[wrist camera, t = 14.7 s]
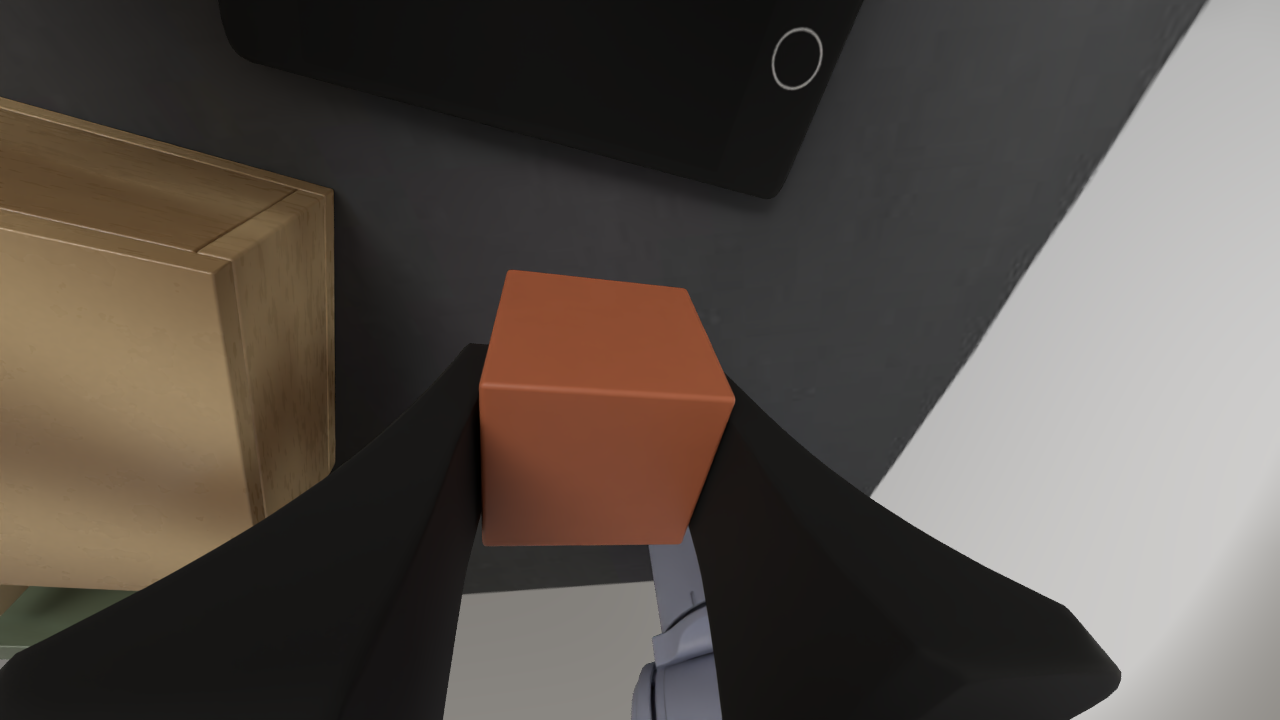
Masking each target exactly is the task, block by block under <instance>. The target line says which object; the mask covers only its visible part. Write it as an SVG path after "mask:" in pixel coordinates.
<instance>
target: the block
mask: <svg viewBox="0 0 1280 720" xmlns="http://www.w3.org/2000/svg"><path fill="white" fill-rule="evenodd" d="M734 404H735V396H734V394H733V392H732V390H731V387H730V385H729V383H728V381H727V378H726V376H725V374H724V372H723V370H722V367H721V365H720V363H719V361H718V358H717V356H716V354H715V352H714V350H713V347H712V345H711V343H710V341H709V338H708V336H707V334H706V332H705V330H704V327H703V325H702V323H701V321H700V318H699V316H698V314H697V312H696V310H695V307H694V305H693V303H692V301H691V298H690V296H689V294H688V292H687V290H686V289H684V288H676V287H667V286H658V285H648V284H639V283H630V282H621V281H611V280H602V279H593V278H584V277H575V276H565V275H556V274H547V273H538V272H529V271H519V270H509V271H508V272H507V275H506V279H505V283H504V287H503V291H502V295H501V299H500V303H499V307H498V311H497V315H496V319H495V323H494V327H493V331H492V335H491V339H490V343H489V347H488V351H487V355H486V359H485V363H484V367H483V371H482V375H481V379H480V383H479V412H480V459H481V505H482V541H483V544H484V545H485V546H557V545H676V544H681V543H682V541H683V538H684V535H685V533H686V530H687V527H688V525H689V522H690V520H691V517H692V514H693V512H694V509H695V506H696V504H697V501H698V499H699V496H700V493H701V491H702V488H703V485H704V483H705V480H706V478H707V475H708V472H709V470H710V467H711V464H712V462H713V459H714V457H715V454H716V451H717V449H718V446H719V443H720V441H721V438H722V435H723V433H724V430H725V428H726V425H727V422H728V420H729V417H730V414H731V412H732V409H733V407H734Z"/></svg>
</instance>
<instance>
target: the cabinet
mask: <svg viewBox="0 0 1280 720" xmlns="http://www.w3.org/2000/svg"><path fill="white" fill-rule="evenodd" d="M334 464H335V329H334V190H333V189H330V188H327V187H323V186H320V185H316V184H312V183H309V182H305V181H302V180H298V179H294V178H291V177H287V176H284V175H280V174H276V173H273V172H269V171H266V170H262V169H258V168H255V167H251V166H247V165H244V164H240V163H237V162H233V161H229V160H226V159H222V158H219V157H215V156H211V155H208V154H204V153H201V152H197V151H193V150H190V149H186V148H183V147H179V146H175V145H172V144H168V143H165V142H161V141H157V140H154V139H150V138H147V137H143V136H139V135H136V134H132V133H129V132H125V131H121V130H118V129H114V128H110V127H107V126H103V125H100V124H96V123H92V122H89V121H85V120H82V119H78V118H74V117H71V116H67V115H64V114H60V113H56V112H53V111H49V110H46V109H42V108H38V107H35V106H31V105H28V104H24V103H20V102H17V101H13V100H10V99H6V98H2V97H0V584H1V585H22V586H43V587H64V588H85V589H106V590H127V591H140V590H142V589H144V588H146V587H147V586H149V585H151V584H153V583H155V582H157V581H158V580H160V579H162V578H164V577H166V576H168V575H169V574H171V573H173V572H175V571H177V570H179V569H180V568H182V567H184V566H186V565H187V564H189V563H191V562H193V561H194V560H196V559H198V558H200V557H201V556H203V555H205V554H207V553H208V552H210V551H212V550H214V549H215V548H217V547H219V546H220V545H222V544H224V543H226V542H227V541H229V540H231V539H232V538H234V537H236V536H237V535H239V534H241V533H242V532H244V531H246V530H247V529H249V528H251V527H252V526H254V525H256V524H257V523H259V522H260V521H262V520H264V519H265V518H267V517H268V516H270V515H271V514H273V513H274V512H276V511H277V510H279V509H280V508H282V507H283V506H285V505H286V504H288V503H289V502H291V501H292V500H294V499H295V498H297V497H298V496H300V495H301V494H302V493H304V492H305V491H307V490H308V489H310V488H311V487H312V486H314V485H315V484H317V483H318V482H320V481H321V480H323V479H324V478H325V477H327V476H328V475H329V473H330V472H331V470H332V468H333V466H334Z"/></svg>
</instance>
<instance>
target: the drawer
mask: <svg viewBox="0 0 1280 720" xmlns="http://www.w3.org/2000/svg"><path fill="white" fill-rule="evenodd" d="M136 592H138V591H127V590H106V589H85V588H64V587H43V586H22V585H1V584H0V659H11V658H12V657H13V656H14V655H15V654H16V653H18V652H20V651H22V650H24V649H26V648H28V647H30V646H32V645H34V644H36V643H38V642H40V641H42V640H44V639H46V638H48V637H50V636H52V635H54V634H56V633H58V632H60V631H62V630H64V629H66V628H68V627H70V626H72V625H74V624H76V623H77V622H79V621H81V620H83V619H85V618H87V617H89V616H91V615H93V614H95V613H97V612H99V611H101V610H103V609H105V608H107V607H109V606H111V605H112V604H114V603H116V602H118V601H120V600H122V599H124V598H126V597H128V596H130V595H132V594H134V593H136Z"/></svg>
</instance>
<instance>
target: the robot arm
mask: <svg viewBox="0 0 1280 720" xmlns="http://www.w3.org/2000/svg"><path fill="white" fill-rule="evenodd" d="M488 347H489V345H485V344H472V343H470V344H468V345H467V346H466V347H464V349H463V350H462V351H461V352H460V353H459V355H458V356H457V357H456V358H455V359H454V361H453V362H452V363H451V364H450V365H449V366H448V368H447V369H446V370H445V371H444V372H443V373H442V374H441V375H440V376H439V378H438V379H437V380H436V381H435V382H434V383H433V384H432V385H431V386H430V387H429V388H428V389H427V390H426V391H425V392H424V393H423V394H422V395H421V396H420V397H419V398H418V399H417V400H416V401H415V402H414V403H413V404H412V405H411V406H410V407H409V408H408V409H407V410H406V411H405V412H404V413H403V414H402V415H401V416H399V417H398V418H397V419H396V420H395V421H394V422H393V423H392V424H391V425H390V426H388V427H387V428H386V429H385V430H384V431H383V432H382V433H381V434H380V435H378V436H377V437H376V438H375V439H374V440H373V441H371V442H370V443H369V444H368V445H367V446H365V447H364V448H363V449H362V450H361V451H359V452H358V453H357V454H356V455H354V456H353V457H352V458H350V459H349V460H348V461H347V462H345V463H344V464H343V465H341V466H340V467H339V468H337V469H336V470H335V471H333V472H332V473H331V474H329V475H328V476H327V477H325V478H324V479H323V480H321V481H320V482H318V483H317V484H315V485H314V486H312V487H311V488H310V489H308V490H307V491H305V492H304V493H302V494H301V495H300V496H298V497H297V498H295V499H294V500H292V501H291V502H289V503H288V504H286V505H285V506H283V507H282V508H280V509H279V510H277V511H276V512H274V513H273V514H271V515H270V516H268V517H267V518H265V519H264V520H262V521H260V522H259V523H257V524H256V525H254V526H252V527H251V528H249V529H247V530H246V531H244V532H242V533H241V534H239V535H237V536H236V537H234V538H232V539H231V540H229V541H227V542H226V543H224V544H222V545H220V546H219V547H217V548H215V549H214V550H212V551H210V552H208V553H207V554H205V555H203V556H201V557H200V558H198V559H196V560H194V561H193V562H191V563H189V564H187V565H186V566H184V567H182V568H180V569H179V570H177V571H175V572H173V573H171V574H169V575H168V576H166V577H164V578H162V579H160V580H158V581H157V582H155V583H153V584H151V585H149V586H147V587H146V588H144V589H142V590H140V591H138V592H136V593H134V594H132V595H130V596H128V597H126V598H124V599H122V600H120V601H118V602H116V603H114V604H112V605H111V606H109V607H107V608H105V609H103V610H101V611H99V612H97V613H95V614H93V615H91V616H89V617H87V618H85V619H83V620H81V621H79V622H77V623H76V624H74V625H72V626H70V627H68V628H66V629H64V630H62V631H60V632H58V633H56V634H54V635H52V636H50V637H48V638H46V639H44V640H42V641H40V642H38V643H36V644H34V645H32V646H30V647H28V648H26V649H24V650H22V651H20V652H18V653H16V654H15V655H14V656H13V657H12V658H11V659H10V660H9V661H8V662H7V663H6V664H5V665H4V666H3V667H2V668H1V669H0V720H443V715H444V708H445V701H446V694H447V688H448V681H449V673H450V668H451V661H452V655H453V647H454V642H455V635H456V629H457V622H458V617H459V611H460V604H461V598H462V592H463V586H464V580H465V576H466V571H467V566H468V562H469V557H470V554H471V550H472V546H473V542H474V538H475V534H476V530H477V527H478V523H479V519H480V515H481V511H482V505H481V459H480V412H479V383H480V379H481V375H482V371H483V367H484V363H485V359H486V355H487V351H488ZM724 374H725V373H724ZM725 376H726V378H727V381H728V383H729V385H730V387H731V390H732V392H733V394H734V396H735V404H734V407H733V409H732V412H731V414H730V417H729V420H728V422H727V425H726V428H725V430H724V433H723V435H722V438H721V441H720V443H719V446H718V449H717V451H716V454H715V457H714V459H713V462H712V464H711V467H710V470H709V472H708V475H707V478H706V480H705V483H704V485H703V488H702V491H701V493H700V496H699V499H698V501H697V504H696V506H695V509H694V512H693V514H692V517H691V520H690V522H689V525H688V527H687V530H686V533H685V535H684V538H683V541H682V543H681V544H676V545H648V546H649V552H650V559H651V565H652V572H653V578H654V585H655V591H656V597H657V604H658V610H659V617H660V623H661V630H662V634H659V635H657V636H654V637H653V638H652V642H653V650H654V656H655V662H652V663H648V664H646V665H645V666H644V667H643V668H642V671H641V673H640V676H639V680H638V682H637V685H636V687H635V689H634V693H633V699H632V711H631V715H632V716H631V720H1070V719H1071V718H1073V717H1075V716H1077V715H1079V714H1081V713H1082V712H1084V711H1086V710H1088V709H1090V708H1092V707H1093V706H1095V705H1096V704H1098V703H1099V702H1101V701H1103V700H1104V699H1106V698H1107V697H1108V696H1110V694H1112V693H1113V692H1114V691H1115V690H1116V689H1117V688H1118V686H1119V683H1120V681H1121V671H1120V670H1119V669H1118V667H1117V666H1116V664H1115V663H1114V662H1113V661H1112V660H1111V659H1110V657H1109V656H1108V655H1107V654H1106V653H1105V651H1104V650H1103V649H1102V648H1101V647H1100V646H1099V644H1098V643H1097V642H1096V641H1095V640H1094V638H1093V637H1092V636H1091V635H1090V634H1089V632H1088V631H1087V630H1086V629H1085V628H1084V627H1083V625H1082V624H1081V623H1080V622H1079V621H1078V619H1077V618H1076V617H1075V616H1074V615H1073V614H1072V613H1071V612H1070V610H1069V609H1067V608H1066V607H1065V606H1064V605H1062V604H1060V603H1058V602H1056V601H1054V600H1052V599H1049V598H1047V597H1045V596H1043V595H1041V594H1039V593H1037V592H1035V591H1033V590H1031V589H1029V588H1027V587H1025V586H1023V585H1021V584H1019V583H1017V582H1015V581H1013V580H1011V579H1009V578H1007V577H1005V576H1003V575H1001V574H999V573H997V572H995V571H993V570H991V569H989V568H987V567H985V566H983V565H981V564H979V563H978V562H976V561H974V560H972V559H970V558H969V557H967V556H965V555H963V554H961V553H959V552H958V551H956V550H954V549H952V548H950V547H949V546H947V545H945V544H943V543H941V542H940V541H938V540H936V539H934V538H933V537H931V536H929V535H928V534H926V533H925V532H923V531H921V530H920V529H918V528H916V527H914V526H913V525H911V524H910V523H908V522H906V521H905V520H903V519H902V518H900V517H899V516H897V515H895V514H894V513H892V512H891V511H889V510H888V509H886V508H885V507H883V506H882V505H880V504H879V503H877V502H875V501H874V500H872V499H871V498H870V497H868V496H867V495H865V494H864V493H862V492H861V491H859V490H858V489H857V488H855V487H854V486H853V485H851V484H850V483H849V482H847V481H846V480H845V479H843V478H842V477H840V476H839V475H838V474H836V473H835V472H834V471H832V470H831V469H830V468H828V467H827V466H826V465H825V464H823V463H822V462H821V461H820V460H818V459H817V458H816V457H815V456H813V455H812V454H811V453H810V452H809V451H807V450H806V449H805V448H804V447H803V446H802V445H800V444H799V443H798V442H797V441H796V440H795V439H793V438H792V437H791V436H790V435H789V434H788V433H787V432H786V431H784V430H783V429H782V428H781V427H780V426H779V425H778V424H777V423H776V422H775V421H774V420H772V419H771V418H770V417H769V416H768V415H767V414H766V413H765V412H764V411H763V410H762V409H761V408H760V407H759V406H758V405H757V404H756V403H755V402H754V401H753V400H752V399H751V398H750V397H749V396H748V395H747V394H746V393H745V392H744V391H743V390H742V389H741V388H739V387H738V386H737V385H736V384H735V383H734V382H733V381H732V380H731V379H730V378H729V377H728V376H727V375H726V374H725Z"/></svg>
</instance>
